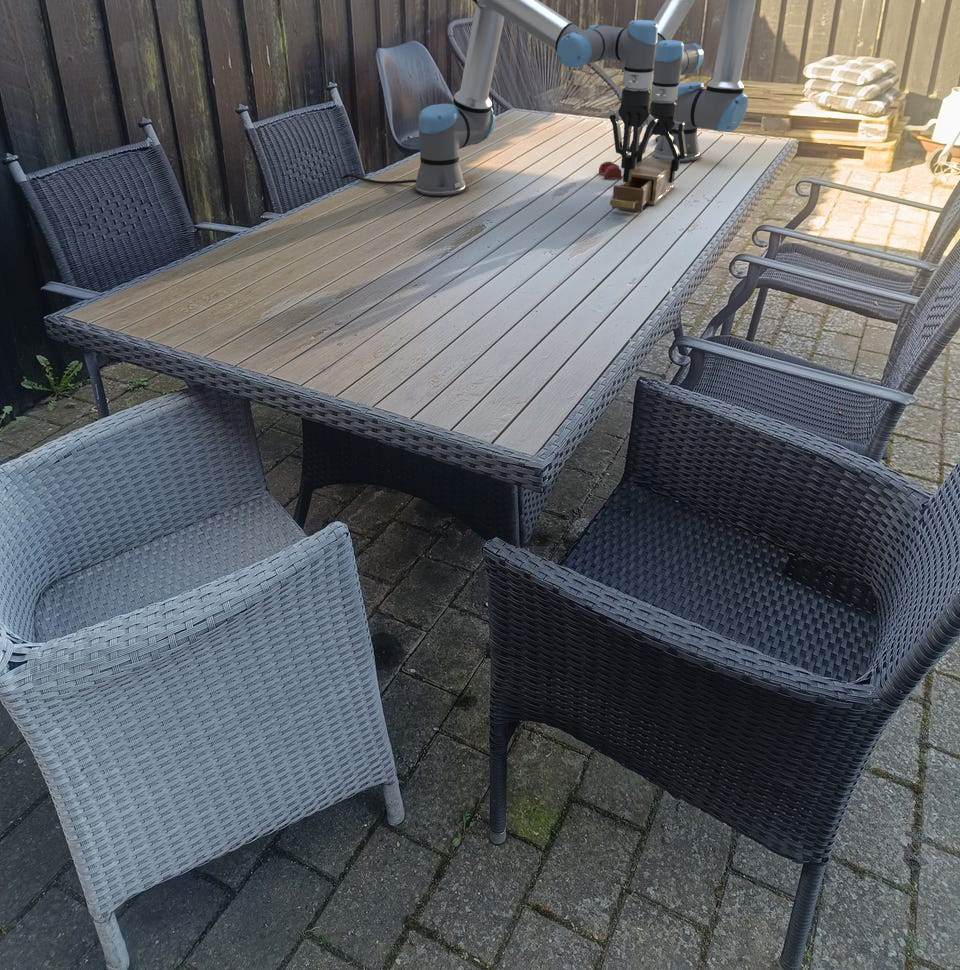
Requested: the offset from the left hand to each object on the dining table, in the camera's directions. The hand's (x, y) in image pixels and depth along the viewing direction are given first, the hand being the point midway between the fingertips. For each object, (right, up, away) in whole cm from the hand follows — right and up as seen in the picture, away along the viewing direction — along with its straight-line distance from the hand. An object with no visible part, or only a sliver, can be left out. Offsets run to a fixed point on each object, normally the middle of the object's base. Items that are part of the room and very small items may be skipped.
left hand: (626, 180), depth 233 cm
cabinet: (+10, +4, +22) cm, 24 cm away
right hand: (+13, +9, +24) cm, 29 cm away
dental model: (+1, +15, +38) cm, 41 cm away
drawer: (+4, -3, +11) cm, 12 cm away
